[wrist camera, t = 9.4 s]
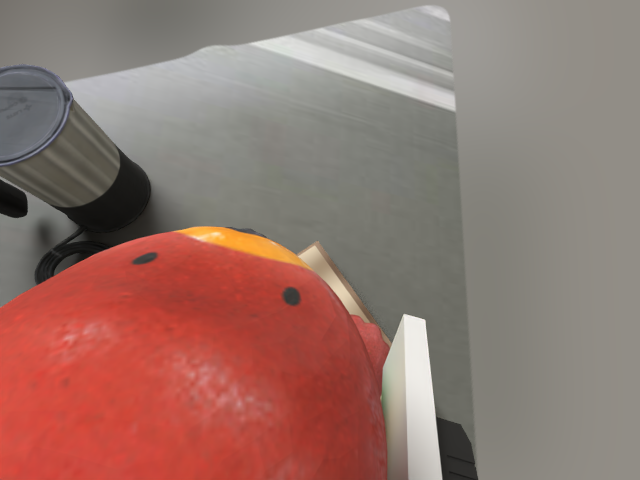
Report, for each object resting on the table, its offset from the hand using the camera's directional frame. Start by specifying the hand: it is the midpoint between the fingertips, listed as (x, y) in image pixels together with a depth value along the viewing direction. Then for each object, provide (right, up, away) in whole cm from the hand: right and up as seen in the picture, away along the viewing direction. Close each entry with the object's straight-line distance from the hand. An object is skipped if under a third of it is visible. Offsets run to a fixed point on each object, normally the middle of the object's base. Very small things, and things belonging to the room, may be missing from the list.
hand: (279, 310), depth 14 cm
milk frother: (-22, +4, +27) cm, 35 cm away
